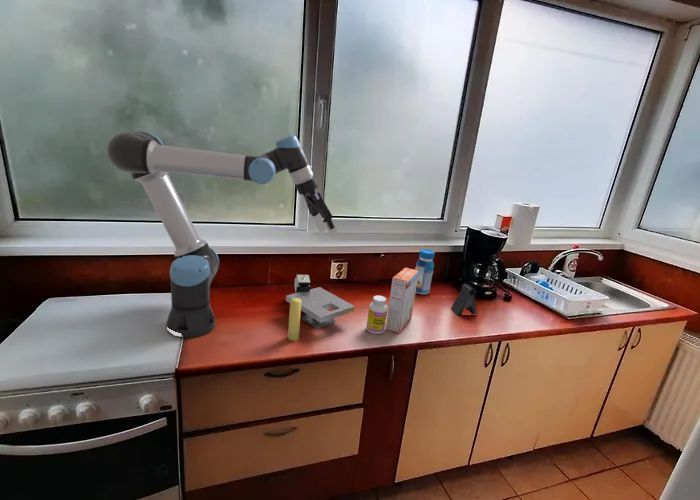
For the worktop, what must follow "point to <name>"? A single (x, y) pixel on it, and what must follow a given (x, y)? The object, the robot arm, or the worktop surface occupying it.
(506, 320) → the worktop surface
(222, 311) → the worktop surface
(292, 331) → the pin
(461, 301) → the phone stand
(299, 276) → the pneumatic valve
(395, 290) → the cracker box
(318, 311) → the gray slab
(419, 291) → the beverage bottle
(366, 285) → the worktop surface
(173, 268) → the robot arm
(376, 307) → the supplement bottle
